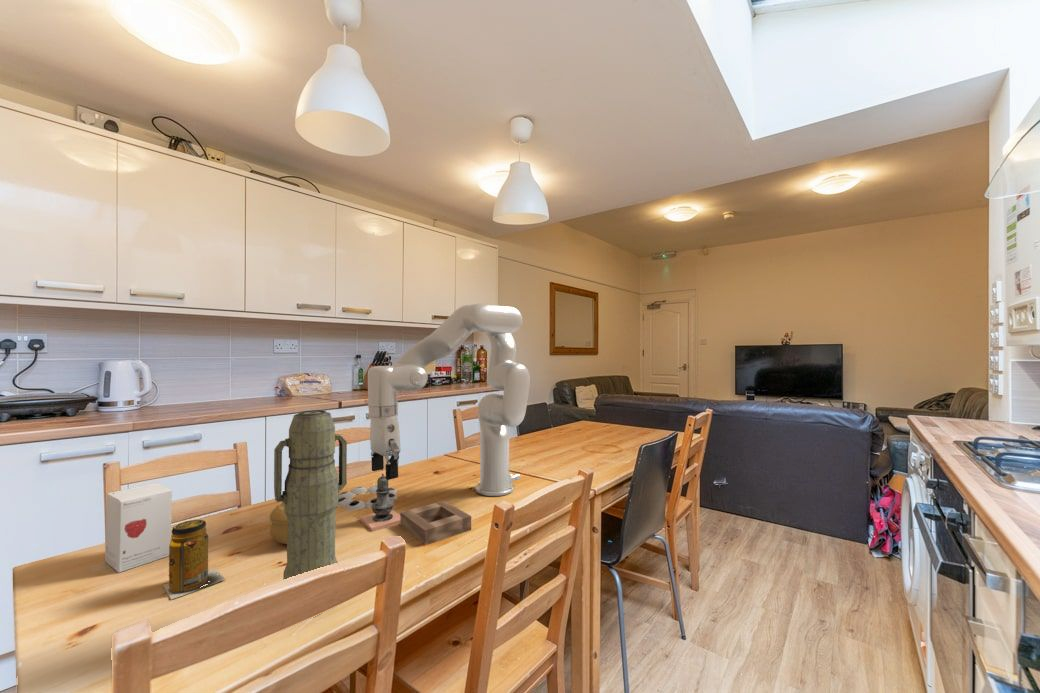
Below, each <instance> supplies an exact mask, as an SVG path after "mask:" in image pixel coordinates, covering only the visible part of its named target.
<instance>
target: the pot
mask: <svg viewBox="0 0 1040 693" xmlns="http://www.w3.org/2000/svg"><path fill="white" fill-rule="evenodd" d="M269 521H271V524H270V526H269V534H270V535H271V537H272V538H273V539H274V540H275V541H276V542H277V543H280V544H284V545H287V516H286V514H285V512H284V503H283V502H280V503H279V504H278V505H277V506H275V508H273V510H272V511H271V512H270V514H269Z"/></svg>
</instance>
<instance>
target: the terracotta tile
mask: <svg viewBox="0 0 1040 693" xmlns="http://www.w3.org/2000/svg"><path fill="white" fill-rule="evenodd" d="M390 514H392V515H393V518H392V519H390V520H388V521H383V522H376V521H373V519H372V518H373V517H374V516H375V515H376V514H375V513H374V512H372V513H369V514H366V515H362V516H359V521H360V522H361V523H362V524H363V525H364V526H365V527H367V528H368V529H369V531H371V532H374V531H378V530H382V529H385V528H388V527H391V526H395V525H397V524H398V525H399V524H400V514H399V513H398V512H397V511H395V510H394V509H392V511H391V512H390Z"/></svg>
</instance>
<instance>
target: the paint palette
mask: <svg viewBox="0 0 1040 693" xmlns="http://www.w3.org/2000/svg"><path fill="white" fill-rule="evenodd" d="M388 489H390V491H389V501H392V502H395V501H396V500H398V498H399V497H398V496H397V493H398V490H396V489H395V488H392V487H388ZM376 490H377V485H376V484H375V485H374V484H373V485H371V486H370V487H369V488H368V489H367V488H366V487H364V486H358V487H353V488H352V489H351V490H350V491H349V490H347V491H343V492H339V493H338V505H337V506H344V508H346V509H345V510H347V509H348V510H347V511H357V510H362V509H364V508H367V509H373V508H372V507H371V505H372V504H373V503H374V502H376V501H377V497H376V498H374V497H373V498H371V499H369V500H367V501H366V502H364V501H363V500H360V499H355V500H354V499H353V498H352V497H354V496H355V497H356V495H354V494H362V493H365V494H367V493H366V492H369V493H368V494H377V492H376ZM362 495H363V494H362ZM390 495H391V496H390ZM355 497H354V498H355ZM351 498H352V499H351ZM344 499H345V500H344ZM339 500H341V501H339ZM372 501H373V502H372ZM352 503H354V504H355V505H353V504H352ZM351 504H352V505H351Z"/></svg>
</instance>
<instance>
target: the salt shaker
mask: <svg viewBox="0 0 1040 693" xmlns="http://www.w3.org/2000/svg"><path fill="white" fill-rule="evenodd" d="M376 482H377V490H376V492H377V493H376V498H377V501H374V502H372V503H373V504H372V505H371V507H372V508H371V509H372V513H375V514H376V515H375V516H374V517H373V518H372V519H373V521H376V522H383V521H388V520H390V519H392V518H393V515H392V514H390V512H391V511H392V510H393V508H394V506H395V503H394V502H395V501H389V497H390V495H389V491H390V489H388V488H389V480H387V479H386V475H384V473H381V476H380V477H379V478H377V480H376Z"/></svg>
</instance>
